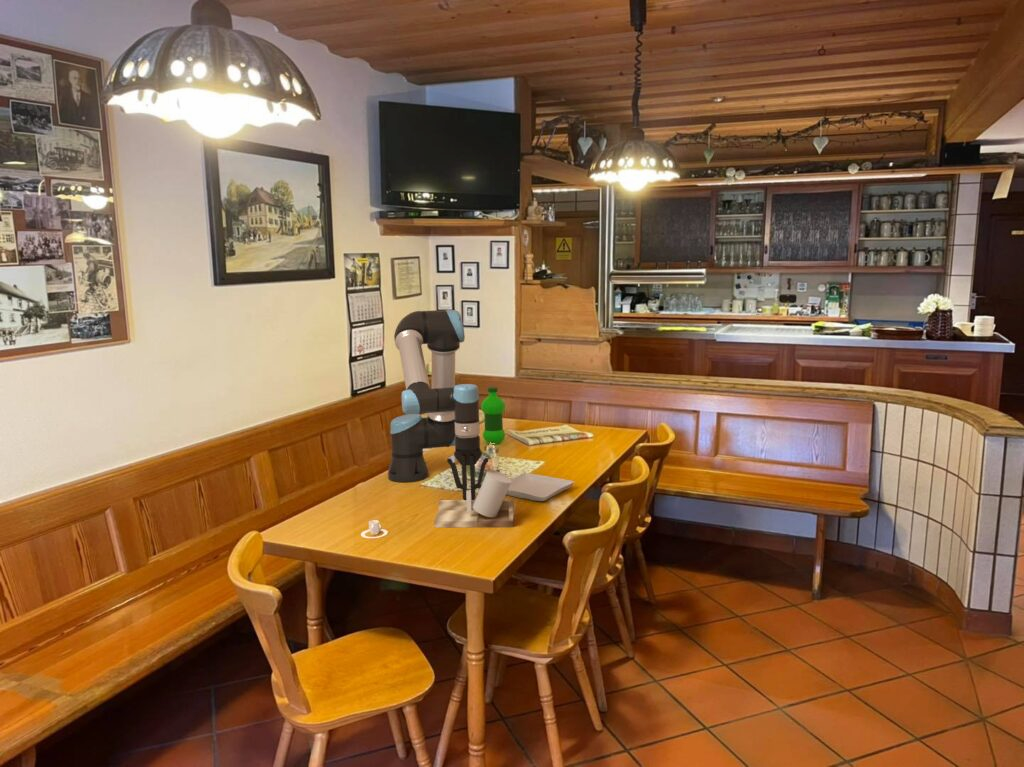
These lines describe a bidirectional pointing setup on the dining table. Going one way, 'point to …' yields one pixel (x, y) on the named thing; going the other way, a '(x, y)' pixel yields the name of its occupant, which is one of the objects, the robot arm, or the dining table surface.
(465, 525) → the rail board
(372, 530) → the white looped ring
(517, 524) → the dining table surface
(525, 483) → the salad plate
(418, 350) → the robot arm
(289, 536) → the dining table surface
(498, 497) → the beige cylinder
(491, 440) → the plastic bottle
